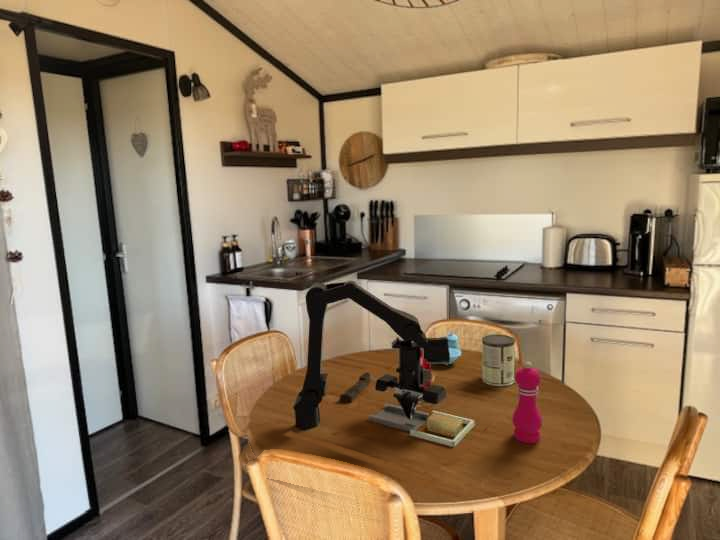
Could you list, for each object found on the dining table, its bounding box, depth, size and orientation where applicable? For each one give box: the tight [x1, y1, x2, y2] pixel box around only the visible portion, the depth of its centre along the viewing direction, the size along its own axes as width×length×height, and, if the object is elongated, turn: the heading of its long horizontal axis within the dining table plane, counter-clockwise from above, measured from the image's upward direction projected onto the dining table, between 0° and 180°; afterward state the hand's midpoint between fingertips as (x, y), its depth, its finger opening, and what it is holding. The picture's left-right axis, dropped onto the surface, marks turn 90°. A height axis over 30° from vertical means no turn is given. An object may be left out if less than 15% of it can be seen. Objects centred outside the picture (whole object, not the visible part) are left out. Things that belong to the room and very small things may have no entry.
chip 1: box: [426, 413, 448, 435], centre depth 134 cm, size 4×4×4 cm
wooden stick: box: [339, 371, 371, 404], centre depth 161 cm, size 19×4×5 cm, turn 154°
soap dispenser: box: [441, 331, 462, 366], centre depth 188 cm, size 18×10×9 cm, turn 158°
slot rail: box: [367, 402, 431, 433], centre depth 141 cm, size 10×14×2 cm
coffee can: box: [481, 334, 516, 387], centre depth 167 cm, size 10×10×14 cm
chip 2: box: [441, 416, 463, 438], centre depth 132 cm, size 4×4×4 cm
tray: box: [409, 410, 476, 448], centre depth 134 cm, size 13×12×2 cm
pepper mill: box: [511, 361, 543, 444], centre depth 129 cm, size 7×7×20 cm
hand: (410, 418), depth 139 cm, fingers closed
